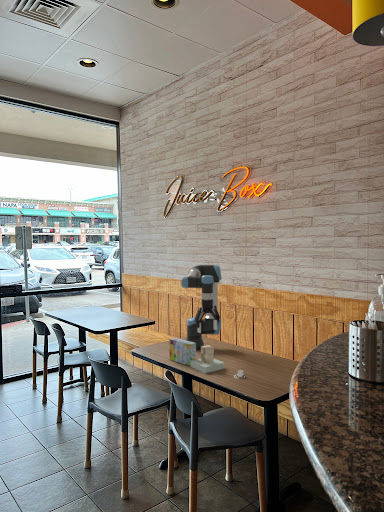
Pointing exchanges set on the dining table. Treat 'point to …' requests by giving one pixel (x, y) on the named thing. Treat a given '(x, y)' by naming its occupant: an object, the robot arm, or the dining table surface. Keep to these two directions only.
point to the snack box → (182, 351)
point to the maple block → (207, 354)
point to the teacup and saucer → (239, 373)
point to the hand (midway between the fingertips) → (207, 331)
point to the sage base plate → (207, 365)
